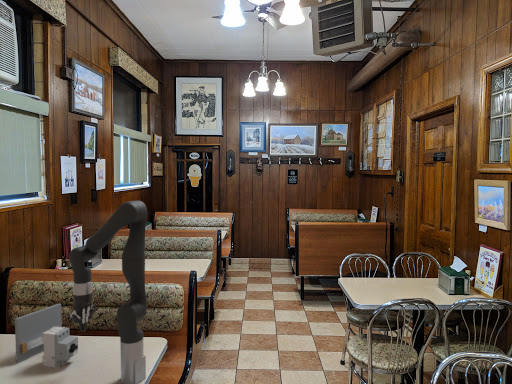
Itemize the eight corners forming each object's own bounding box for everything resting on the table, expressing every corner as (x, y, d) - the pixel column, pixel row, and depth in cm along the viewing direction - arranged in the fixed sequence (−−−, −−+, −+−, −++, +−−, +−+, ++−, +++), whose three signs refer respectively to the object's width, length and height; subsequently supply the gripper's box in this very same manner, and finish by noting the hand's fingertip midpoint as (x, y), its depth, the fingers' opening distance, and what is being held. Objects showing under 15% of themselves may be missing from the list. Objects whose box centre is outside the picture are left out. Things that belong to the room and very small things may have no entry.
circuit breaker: (70, 369, 163) (69, 336, 163) (42, 365, 166) (41, 333, 165) (81, 360, 171) (81, 329, 170) (54, 357, 174) (54, 326, 173)
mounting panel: (62, 342, 189) (61, 304, 188) (18, 362, 169) (17, 319, 168) (59, 341, 190) (58, 303, 189) (16, 361, 170) (14, 318, 169)
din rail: (62, 335, 187) (62, 328, 187) (23, 353, 169) (23, 344, 169) (60, 335, 188) (59, 327, 188) (20, 352, 170) (20, 343, 169)
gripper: (75, 297, 153) (76, 338, 154) (101, 288, 165) (101, 326, 166) (63, 295, 156) (64, 335, 157) (89, 286, 168) (89, 323, 169)
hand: (83, 330), depth 162 cm, fingers closed
